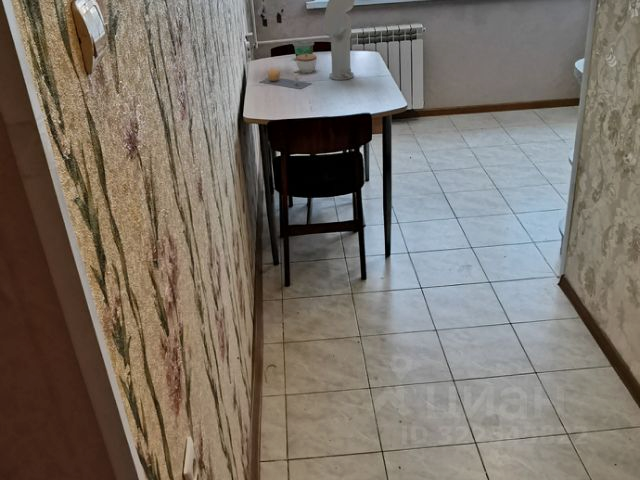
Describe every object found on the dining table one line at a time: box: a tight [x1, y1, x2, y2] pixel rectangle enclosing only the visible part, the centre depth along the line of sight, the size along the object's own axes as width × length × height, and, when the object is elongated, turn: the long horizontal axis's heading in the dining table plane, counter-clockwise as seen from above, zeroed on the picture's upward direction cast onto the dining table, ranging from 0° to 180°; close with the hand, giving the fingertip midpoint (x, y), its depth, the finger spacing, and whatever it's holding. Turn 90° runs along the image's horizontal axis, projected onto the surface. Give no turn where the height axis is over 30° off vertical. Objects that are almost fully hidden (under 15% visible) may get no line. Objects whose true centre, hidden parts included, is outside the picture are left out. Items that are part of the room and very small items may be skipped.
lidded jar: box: [295, 53, 318, 74], centre depth 349 cm, size 11×11×9 cm
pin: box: [293, 66, 299, 85], centre depth 329 cm, size 2×2×8 cm
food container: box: [292, 40, 315, 58], centre depth 368 cm, size 12×6×10 cm, turn 73°
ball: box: [267, 68, 281, 81], centre depth 336 cm, size 6×6×6 cm
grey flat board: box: [259, 77, 313, 90], centre depth 334 cm, size 26×10×1 cm, turn 56°
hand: (272, 24), depth 344 cm, fingers open, 9 cm apart
